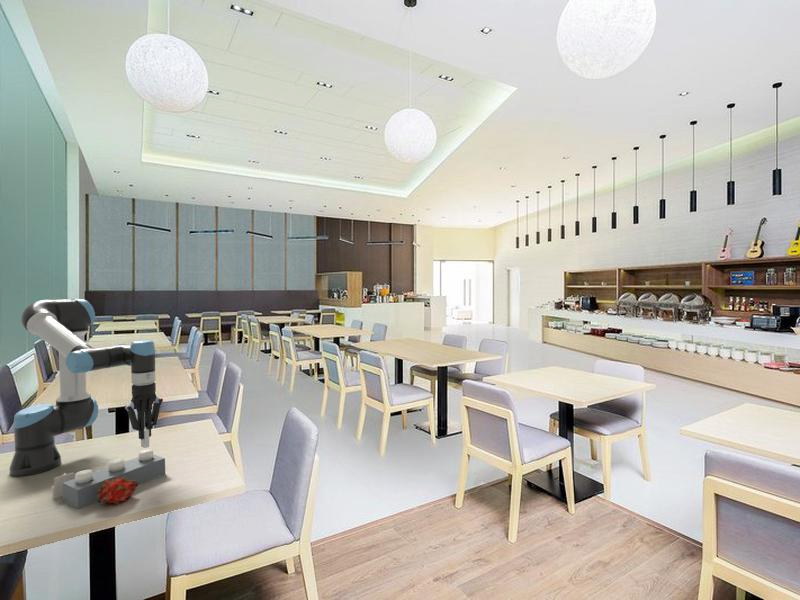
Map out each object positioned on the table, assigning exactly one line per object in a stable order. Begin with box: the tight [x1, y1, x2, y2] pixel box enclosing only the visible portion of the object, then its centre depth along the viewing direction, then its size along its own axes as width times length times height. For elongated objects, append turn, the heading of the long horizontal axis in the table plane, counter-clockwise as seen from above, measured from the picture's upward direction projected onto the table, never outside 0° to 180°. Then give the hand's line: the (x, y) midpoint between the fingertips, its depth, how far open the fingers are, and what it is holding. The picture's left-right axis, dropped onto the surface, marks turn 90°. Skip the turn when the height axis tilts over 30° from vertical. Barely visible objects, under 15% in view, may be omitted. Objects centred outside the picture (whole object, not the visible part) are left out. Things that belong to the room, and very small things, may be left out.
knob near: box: [74, 469, 94, 485], centre depth 140 cm, size 5×5×8 cm
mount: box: [62, 453, 166, 509], centre depth 148 cm, size 10×28×6 cm, turn 150°
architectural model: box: [50, 471, 75, 500], centre depth 144 cm, size 3×7×7 cm, turn 143°
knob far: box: [138, 448, 154, 462], centre depth 157 cm, size 5×5×8 cm
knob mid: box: [108, 458, 126, 473], centre depth 148 cm, size 5×5×8 cm
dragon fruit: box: [96, 477, 139, 505], centre depth 138 cm, size 8×8×12 cm
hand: (145, 446), depth 157 cm, fingers closed
